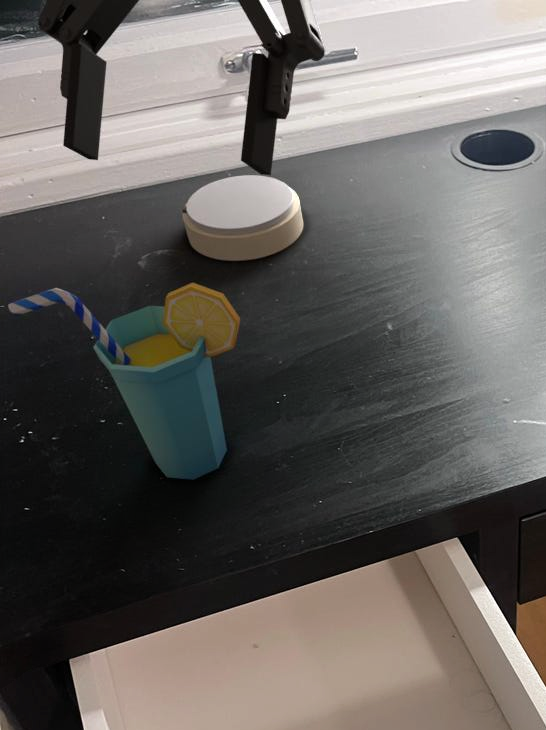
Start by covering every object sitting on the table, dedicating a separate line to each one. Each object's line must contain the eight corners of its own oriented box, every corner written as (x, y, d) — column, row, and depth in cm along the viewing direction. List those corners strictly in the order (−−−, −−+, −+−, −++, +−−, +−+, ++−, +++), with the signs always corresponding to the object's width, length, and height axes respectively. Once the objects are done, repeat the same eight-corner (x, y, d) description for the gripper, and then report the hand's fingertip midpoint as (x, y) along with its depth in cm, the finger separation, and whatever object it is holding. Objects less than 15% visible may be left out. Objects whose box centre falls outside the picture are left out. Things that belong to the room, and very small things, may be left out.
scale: (169, 255, 93) (160, 224, 91) (217, 197, 99) (209, 167, 97) (278, 268, 91) (272, 237, 89) (319, 208, 98) (315, 178, 95)
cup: (84, 511, 71) (0, 330, 60) (85, 443, 76) (8, 263, 64) (277, 477, 73) (232, 295, 61) (267, 412, 78) (223, 232, 66)
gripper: (401, -151, 64) (357, 193, 68) (74, -150, 70) (49, 165, 74) (356, -235, 57) (309, 154, 60) (-4, -226, 63) (-28, 127, 66)
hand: (166, 161), depth 67 cm, fingers open, 13 cm apart
